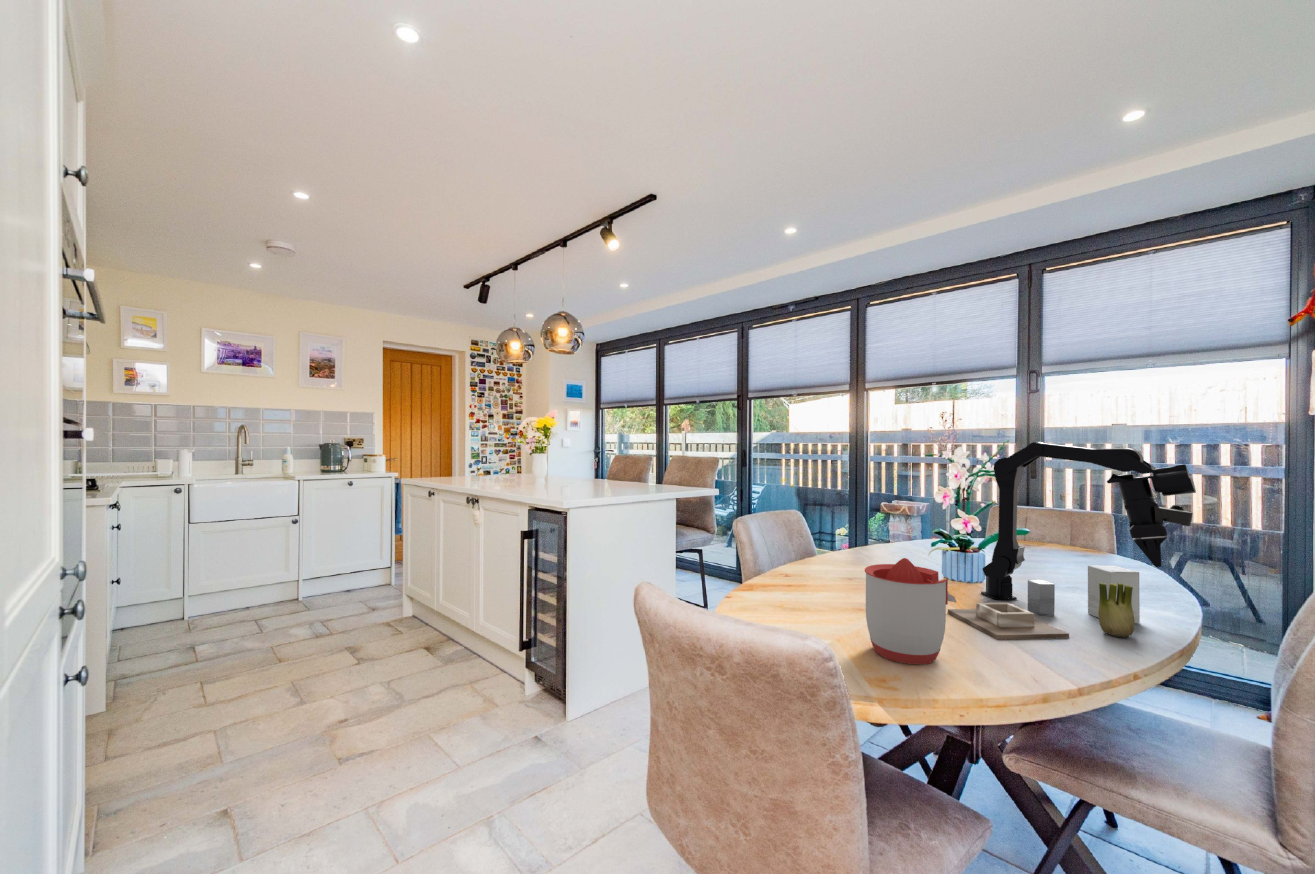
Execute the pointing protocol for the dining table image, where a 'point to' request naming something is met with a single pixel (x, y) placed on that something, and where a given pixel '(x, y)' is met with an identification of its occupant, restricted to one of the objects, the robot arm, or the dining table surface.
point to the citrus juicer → (906, 611)
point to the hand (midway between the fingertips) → (1157, 563)
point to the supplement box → (1109, 576)
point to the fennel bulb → (1116, 610)
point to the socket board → (1007, 622)
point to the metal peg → (1041, 597)
